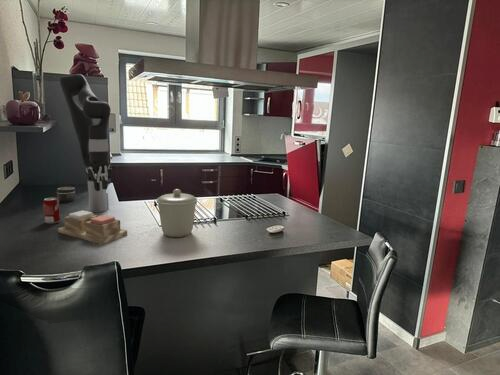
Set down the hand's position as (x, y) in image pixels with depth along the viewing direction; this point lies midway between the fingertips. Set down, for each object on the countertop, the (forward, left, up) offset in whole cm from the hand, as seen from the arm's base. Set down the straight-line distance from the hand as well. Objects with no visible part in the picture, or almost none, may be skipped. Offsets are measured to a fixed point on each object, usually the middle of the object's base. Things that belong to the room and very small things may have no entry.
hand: (101, 189), depth 151 cm
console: (0, -7, -21) cm, 22 cm away
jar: (-33, -71, -21) cm, 81 cm away
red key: (0, 0, -16) cm, 16 cm away
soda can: (-1, -37, -21) cm, 43 cm away
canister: (-20, +25, -21) cm, 38 cm away
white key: (0, -14, -16) cm, 21 cm away
